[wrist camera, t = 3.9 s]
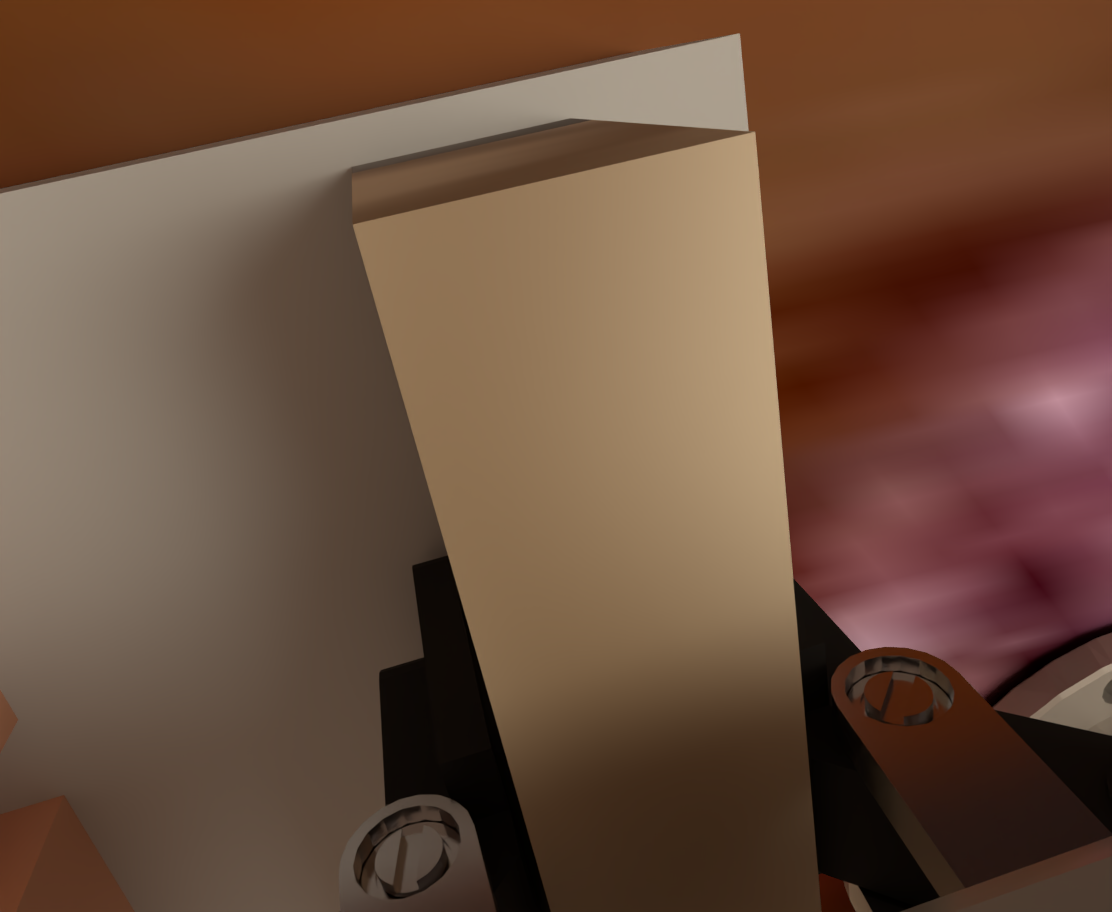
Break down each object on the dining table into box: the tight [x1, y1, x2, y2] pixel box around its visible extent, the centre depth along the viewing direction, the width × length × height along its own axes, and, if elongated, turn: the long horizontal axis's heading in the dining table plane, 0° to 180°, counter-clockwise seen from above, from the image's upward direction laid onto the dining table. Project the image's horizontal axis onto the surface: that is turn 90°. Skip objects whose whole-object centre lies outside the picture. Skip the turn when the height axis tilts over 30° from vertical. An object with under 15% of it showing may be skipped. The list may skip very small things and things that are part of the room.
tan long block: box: [352, 118, 821, 912], centre depth 10 cm, size 3×13×5 cm, turn 11°
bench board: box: [0, 34, 748, 912], centre depth 13 cm, size 20×14×4 cm
